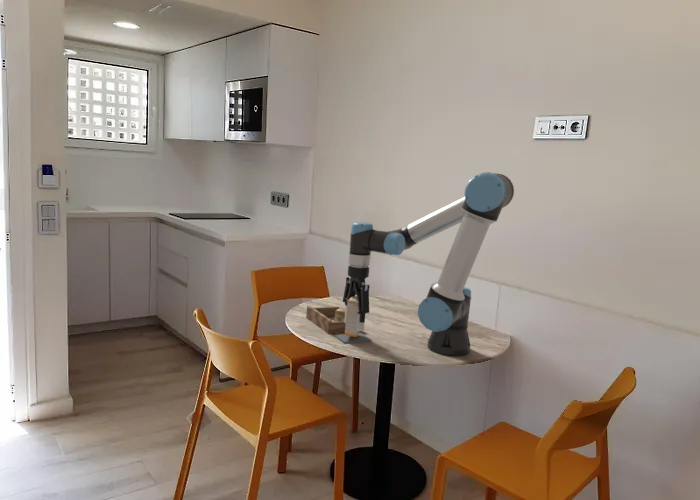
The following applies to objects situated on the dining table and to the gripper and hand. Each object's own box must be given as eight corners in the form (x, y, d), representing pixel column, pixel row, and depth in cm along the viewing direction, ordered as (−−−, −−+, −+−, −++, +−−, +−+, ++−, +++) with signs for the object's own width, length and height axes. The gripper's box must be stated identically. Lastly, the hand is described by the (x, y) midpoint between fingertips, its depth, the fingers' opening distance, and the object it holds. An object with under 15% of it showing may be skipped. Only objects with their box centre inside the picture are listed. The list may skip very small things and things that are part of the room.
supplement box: (357, 337, 201) (360, 301, 199) (344, 335, 202) (347, 299, 200) (361, 331, 209) (364, 296, 207) (348, 329, 210) (351, 294, 208)
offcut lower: (353, 327, 222) (354, 319, 221) (346, 327, 220) (347, 320, 220) (341, 320, 229) (341, 313, 229) (334, 321, 227) (334, 314, 227)
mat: (371, 341, 205) (371, 339, 205) (344, 343, 200) (344, 341, 200) (361, 334, 212) (361, 332, 212) (334, 336, 207) (334, 334, 207)
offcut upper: (354, 317, 224) (354, 311, 224) (351, 319, 221) (351, 313, 221) (338, 314, 227) (338, 308, 226) (335, 316, 224) (335, 310, 224)
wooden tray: (361, 331, 216) (362, 318, 215) (327, 333, 210) (328, 320, 209) (337, 315, 235) (338, 304, 234) (306, 317, 229) (307, 305, 228)
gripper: (383, 271, 194) (377, 335, 197) (354, 259, 213) (349, 317, 217) (363, 272, 191) (358, 336, 194) (336, 260, 210) (332, 318, 213)
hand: (353, 326), depth 205 cm, fingers closed on supplement box, 9 cm apart
